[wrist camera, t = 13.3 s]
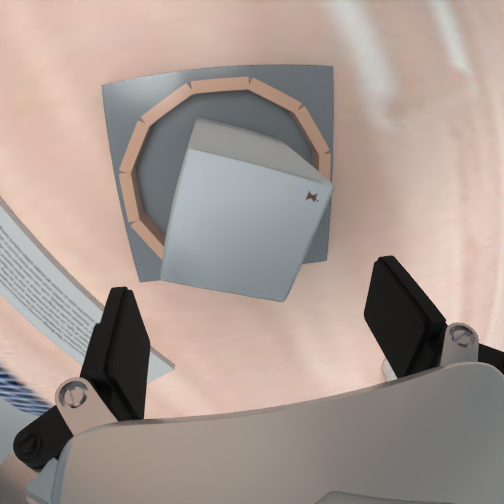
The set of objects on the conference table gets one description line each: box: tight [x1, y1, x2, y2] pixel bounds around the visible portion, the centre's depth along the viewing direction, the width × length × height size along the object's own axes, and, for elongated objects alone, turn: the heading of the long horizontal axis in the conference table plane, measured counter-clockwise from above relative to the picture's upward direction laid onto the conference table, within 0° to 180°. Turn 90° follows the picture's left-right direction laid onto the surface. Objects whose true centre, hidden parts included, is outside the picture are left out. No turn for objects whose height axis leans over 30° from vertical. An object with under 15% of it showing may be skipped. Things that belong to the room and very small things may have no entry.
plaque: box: [0, 196, 174, 383], centre depth 32 cm, size 30×2×10 cm
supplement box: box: [160, 117, 334, 302], centre depth 21 cm, size 7×7×13 cm
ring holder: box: [102, 65, 334, 282], centre depth 26 cm, size 19×19×3 cm
